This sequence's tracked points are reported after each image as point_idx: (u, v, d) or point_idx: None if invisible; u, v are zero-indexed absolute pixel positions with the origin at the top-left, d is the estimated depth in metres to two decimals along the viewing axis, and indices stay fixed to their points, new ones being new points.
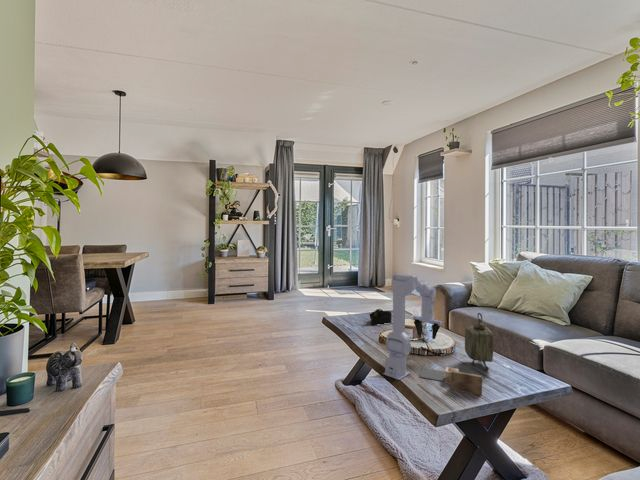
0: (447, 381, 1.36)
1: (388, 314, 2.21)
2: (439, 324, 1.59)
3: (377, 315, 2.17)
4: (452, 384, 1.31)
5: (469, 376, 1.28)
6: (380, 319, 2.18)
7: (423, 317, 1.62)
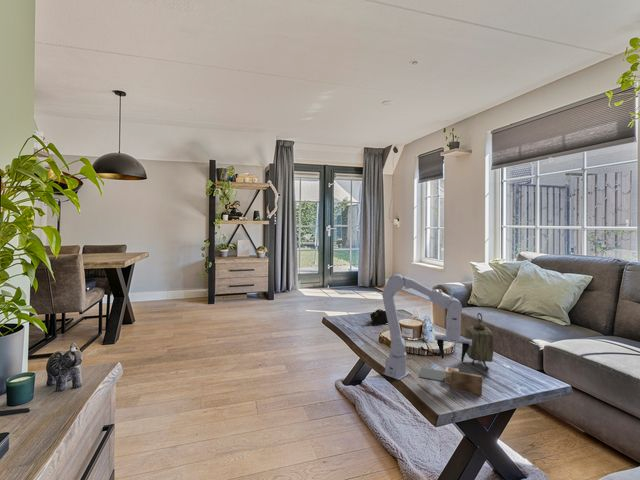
0: (447, 381, 1.36)
1: None
2: None
3: (378, 315, 2.17)
4: (452, 384, 1.31)
5: (469, 376, 1.28)
6: (380, 320, 2.17)
7: None
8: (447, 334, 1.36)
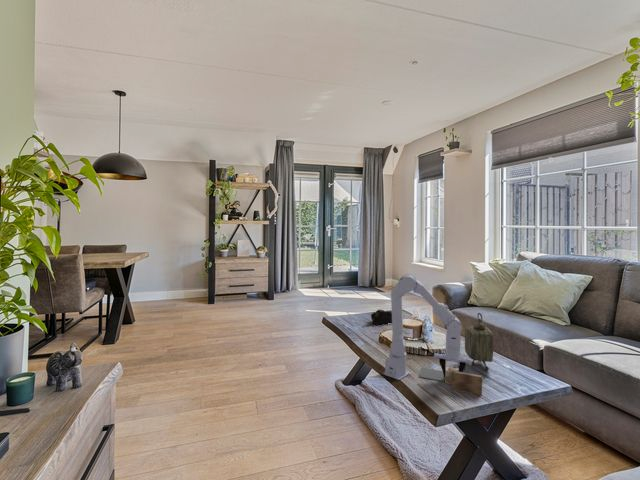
0: (447, 381, 1.36)
1: (390, 315, 2.20)
2: None
3: (378, 315, 2.16)
4: (452, 384, 1.31)
5: (469, 376, 1.28)
6: (381, 320, 2.17)
7: None
8: (447, 353, 1.36)
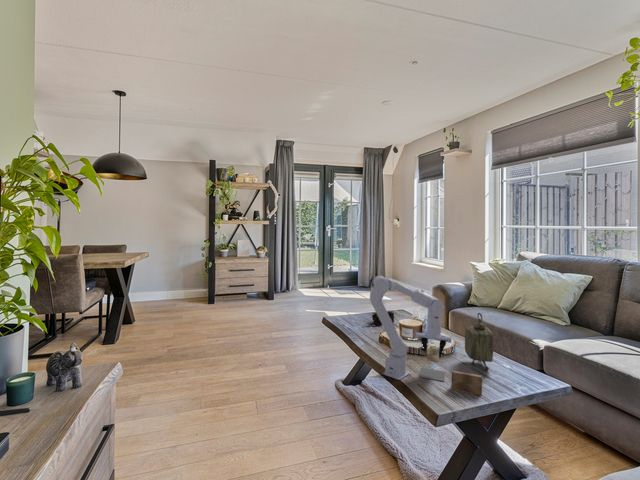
0: (428, 358, 1.42)
1: (391, 315, 2.19)
2: None
3: None
4: (452, 384, 1.31)
5: (469, 376, 1.28)
6: None
7: None
8: (428, 332, 1.42)
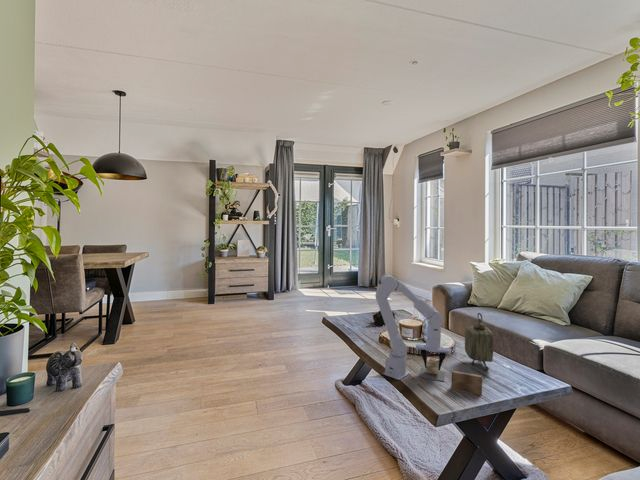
0: (428, 370, 1.42)
1: None
2: None
3: (380, 316, 2.15)
4: (452, 384, 1.31)
5: (469, 376, 1.28)
6: (383, 321, 2.15)
7: None
8: (428, 344, 1.42)
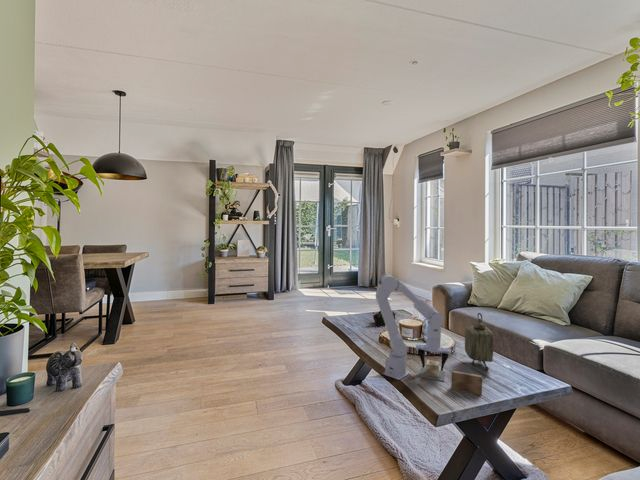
0: (428, 373, 1.42)
1: None
2: None
3: (381, 316, 2.14)
4: (452, 384, 1.31)
5: (469, 376, 1.28)
6: (383, 321, 2.15)
7: None
8: (428, 344, 1.42)
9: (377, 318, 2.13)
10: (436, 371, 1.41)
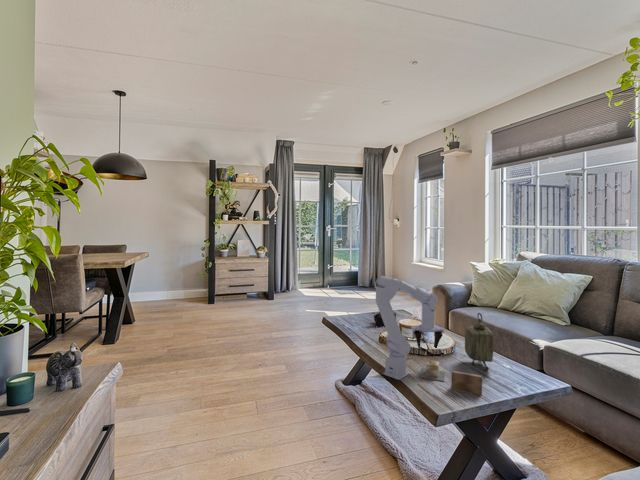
0: (428, 373, 1.42)
1: None
2: None
3: (381, 317, 2.14)
4: (452, 384, 1.31)
5: (469, 376, 1.28)
6: None
7: None
8: (424, 324, 1.49)
9: (378, 318, 2.13)
10: (436, 371, 1.41)
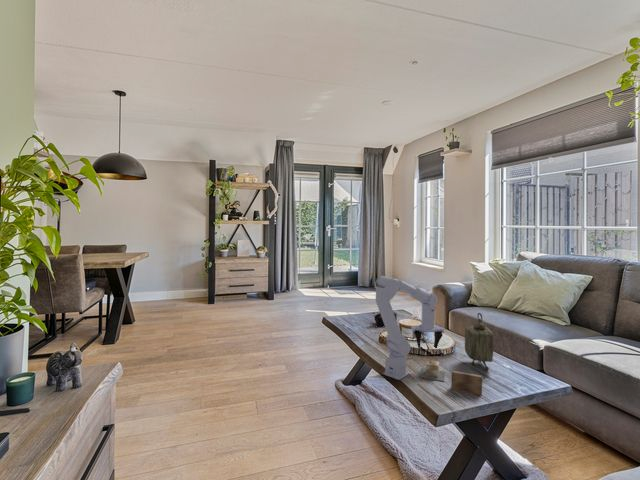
0: (428, 373, 1.42)
1: None
2: None
3: None
4: (452, 384, 1.31)
5: (469, 376, 1.28)
6: None
7: None
8: (424, 324, 1.49)
9: (378, 319, 2.12)
10: (436, 371, 1.41)
